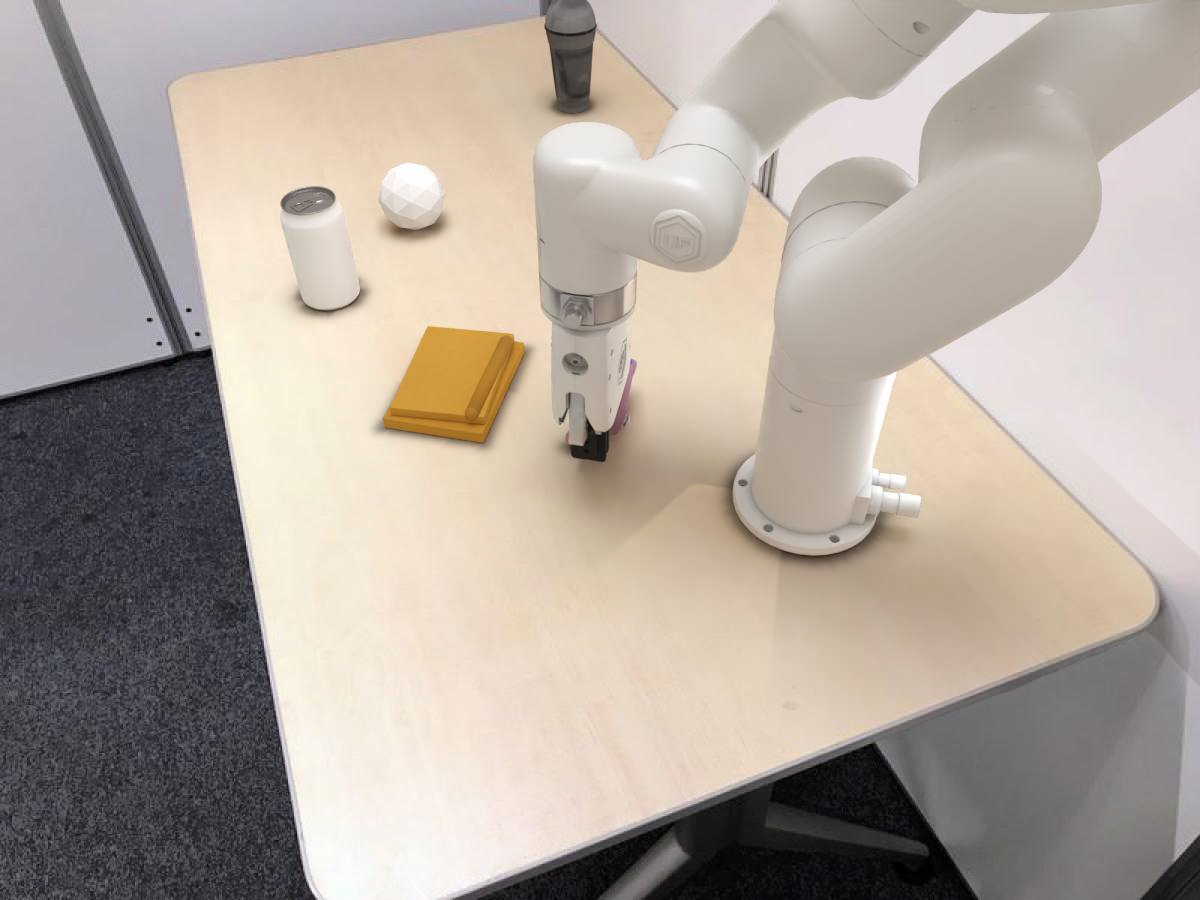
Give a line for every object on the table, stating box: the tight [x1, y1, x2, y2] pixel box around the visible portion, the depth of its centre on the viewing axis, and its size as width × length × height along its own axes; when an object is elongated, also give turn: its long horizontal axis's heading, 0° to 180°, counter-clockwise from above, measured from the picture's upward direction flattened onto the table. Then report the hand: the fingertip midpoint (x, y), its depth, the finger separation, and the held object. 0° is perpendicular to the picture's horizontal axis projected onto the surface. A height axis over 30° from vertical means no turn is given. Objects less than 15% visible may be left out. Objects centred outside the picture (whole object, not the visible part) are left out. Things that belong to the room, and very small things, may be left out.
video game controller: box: [565, 357, 638, 447], centre depth 91 cm, size 10×5×7 cm, turn 172°
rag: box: [382, 325, 526, 444], centre depth 96 cm, size 10×14×3 cm
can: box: [279, 185, 361, 312], centre depth 104 cm, size 6×6×12 cm
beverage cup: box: [543, 0, 598, 114], centre depth 134 cm, size 7×7×20 cm
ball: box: [377, 162, 446, 231], centre depth 116 cm, size 8×8×8 cm
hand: (590, 453), depth 88 cm, fingers closed
